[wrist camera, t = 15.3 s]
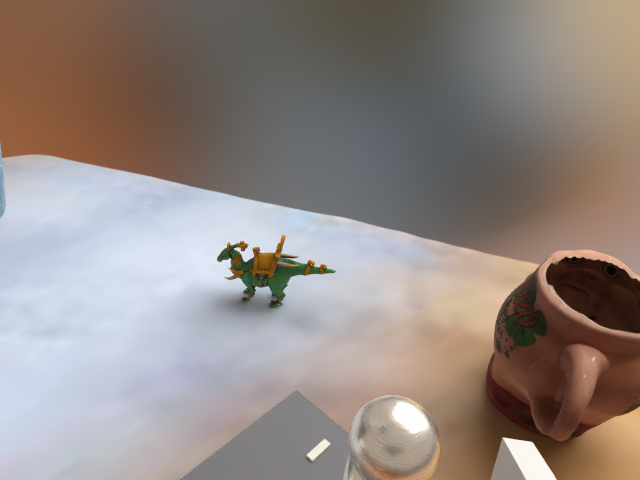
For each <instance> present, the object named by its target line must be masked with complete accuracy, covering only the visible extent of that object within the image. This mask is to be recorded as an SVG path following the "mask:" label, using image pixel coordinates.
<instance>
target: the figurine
mask: <svg viewBox="0 0 640 480" xmlns="http://www.w3.org/2000/svg"><path fill="white" fill-rule="evenodd" d="M284 241H285V235H282V238H281V242H280V243H278V246H277V250H276V252H275V253H261V252H259V251H260V249H259V247H255V248H253V253H254V257H253V258H252V259H250V260H249V261H247V262H244V260H243V259H242V255H241V254H240V252H238V251H236V250H234V248H236V247H239V248H240V247H241V251H245V249H246V248H247V246H248V244H246V243H244V241H240V243H236V244H235V245H232V246H230V243H229V242H228V243H227V248H225V249H224V250H223V251H222V252H221V253H220V255H219V256H218V258H217V260H218V262H222V260H228V259H229V258H231V268H229V269H230V270H231V271H232V273H233V274H234V276H232V277H229V278H227V277H225V278H226V279H229V280H232V279H236V278H238V277H239V278H240V279H242V281H243V283H244V284H245V285H246V286H247V287H248V288H246V290H244V292H245V293H248V292H250V293H249V295H248V298H245V297H243V298H242V299H243V301H242V302H246V301H248V300H249V299H250V298H251V297H253V295H254V294H255V293H254V292H255V291H256V290H255V287H256V286H257V287H260V288H261V287H266V286H269V288H270V290H271V292H272V294H273V295H272V296H279V297H277V300H276V301H273V300H271V303H270V304H271V305H270V307H275V306H277V305H278V304H280V305H283V304H282V303H281V301H282V300H283V298H284V297H285V296H286V295H285V294H284V293H283V290H284V288H285V287H286V286H287V283H288V281H289V279H290V277H292V276H296V275H309V274H325V273H335V272H336V271H335V270H332V269H326V268H327V265H324V264H321V266H320V268H319V267H314V264H315V262H313V261H312V260H309V261H308V263H307V264H302V263H298V262H295V261H292V260H290V259H286V258H297V257H299V256H300V255H298V256H292V255H288V254H281V251H282V247H283V244H284ZM281 257H283V258H281ZM311 264H312V266H311ZM324 267H325V268H324Z"/></svg>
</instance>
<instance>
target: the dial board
mask: <svg viewBox="0 0 640 480" xmlns="http://www.w3.org/2000/svg"><path fill="white" fill-rule="evenodd" d="M348 456H349V450H348V433H347V432H346V431H345V430H344V429H342V428H341V427H340V426H339V425H338V424H336V423H335V422H334V421H333V420H332V419H331V418H329V417H328V416H327V415H326V414H325V413H323V412H322V411H321V410H320V409H319V408H317V407H316V406H315V405H314V404H313V403H311V402H310V401H309V400H308V399H307V398H306V397H304V396H303V395H302V394H301V393H300V392H298V391H297V390H296V391H295V392H293V393H292V394H291V395H290V396H288V397H287V398H286V399H284V400H283V401H282V402H280V403H279V404H278V405H277V406H275V407H274V408H273V409H271V410H270V411H269V412H267V413H266V414H265V415H264V416H262V417H261V418H260V419H258V420H257V421H256V422H254V423H253V424H252V425H251V426H249V427H248V428H247V429H245V430H244V431H243V432H241V433H240V434H239V435H238V436H236V437H235V438H234V439H232V440H231V441H230V442H228V443H227V444H226V445H225V446H223V447H222V448H221V449H219V450H218V451H217V452H215V453H214V454H213V455H212V456H210V457H209V458H208V459H206V460H205V461H204V462H202V463H201V464H200V465H199V466H197V467H196V468H195V469H193V470H192V471H191V472H190V473H188V474H187V475H186V476H184V477H183V478H182V479H180V480H342V479H343V475H344V471H345V468H346V464H347V460H348Z"/></svg>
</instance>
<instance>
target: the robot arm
mask: <svg viewBox="0 0 640 480" xmlns="http://www.w3.org/2000/svg"><path fill="white" fill-rule="evenodd" d="M5 207H6V201H5V188H4V176H3V167H2V159H1V146H0V218H1V217H2V216H3V214H4V212H5ZM491 480H557V479H556V478H555V476H554V475H553V473H552V472H551V470H550V468H549V467H548V465H547V464H546V462H545V461H544V459H543V458H542V456H541V454H540V453H539V451H538V450H537V448H536V447H535V445H534V444H533V442H529V441H522V440H516V439H509V438H502V441H501V445H500V448H499V452H498V455H497V459H496V462H495V466H494V469H493V473H492V476H491Z"/></svg>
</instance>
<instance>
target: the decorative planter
mask: <svg viewBox="0 0 640 480" xmlns="http://www.w3.org/2000/svg"><path fill="white" fill-rule="evenodd" d="M486 384H487V391H488V395H489V397H490V399H491V401H492V402H493V404H494V405H495V406H496V407H497V408H498V409H499V410H500V411H501V412H502V413H503V414H505V415H506V416H508V417H509V418H511V419H512V420H514V421H515V422H517V423H518V424H520V425H522V426H524V427H526V428H528V429H530V430H533V431H536V432H538V433H541V434H544V435H548V436H550V437H551V438H553V439H555V440H558V441H565V440H567V439H568V438H573V437H578V436H580V435H582V434H583V433H584V432H586V431H587V430H589V429H591V428H593V427H596V426H598V425H600V424H602V423H603V422H605V421H607V420H609V419H611V418H613V417H615V416H620V415H624V414H627V413H629V412H631V411H633V410H635V409H637V408H638V407H639V406H640V277H639V276H638V275H636V274H635V273H634V272H633V271H632V270H630V269H629V268H628V267H627V266H626V265H624V264H623V263H622V262H621V261H619V260H618V259H616V258H613V257H611V256H609V255H606V254H602V253H598V252H596V251H592V250H588V249H586V250H583V249H581V250H574V251H557V252H555V253H554V254H552V255H550V256H549V257H548V258H547V259H546V260H545V261H544V262H543V263H542V264H541V265H540V266H539V267H538V268H537V269H536V271H535V272H533V273H532V274H530V275H529V276H528V277H527V278H526V280H525V282H523V283H522V284H521V285H520V286H518V287H517V288H516V289H515V290H514V291H513V292H512V293H511V294H510V295H509V296H508V297H507V299H506V300H505V301H504V303H503V305H502V306H501V309H500V311H499V313H498V316H497V320H496V324H495V333H494V353H493V355H492V357H491V360H490V363H489V366H488V371H487V379H486Z"/></svg>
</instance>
